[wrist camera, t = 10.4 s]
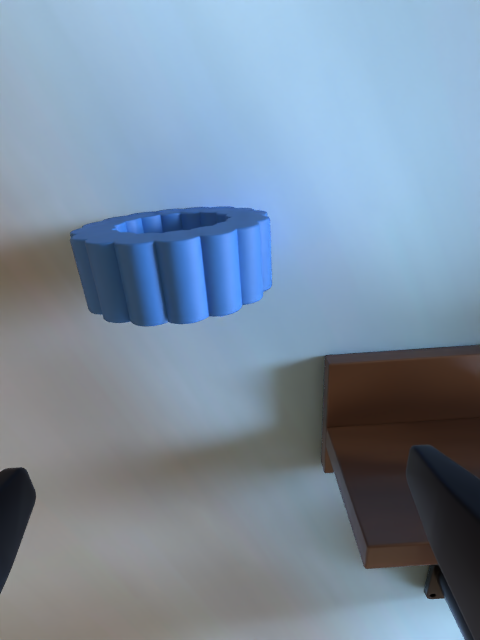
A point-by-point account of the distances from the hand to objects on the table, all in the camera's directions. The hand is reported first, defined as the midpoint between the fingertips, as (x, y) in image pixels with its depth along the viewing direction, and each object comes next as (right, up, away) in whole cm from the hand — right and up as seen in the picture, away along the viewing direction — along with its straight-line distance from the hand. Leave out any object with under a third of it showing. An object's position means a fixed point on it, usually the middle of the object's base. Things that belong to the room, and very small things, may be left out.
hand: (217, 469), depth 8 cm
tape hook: (+11, +1, +12) cm, 16 cm away
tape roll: (-2, +6, +5) cm, 8 cm away
